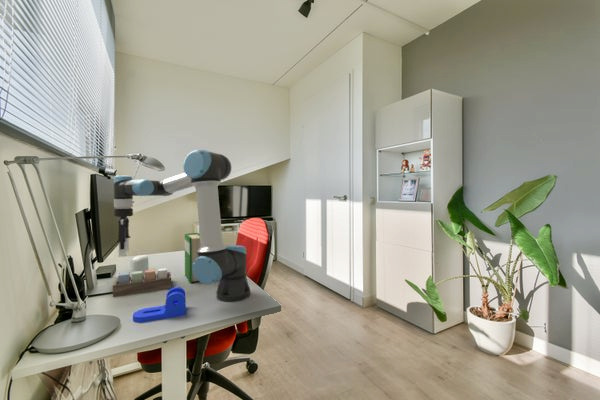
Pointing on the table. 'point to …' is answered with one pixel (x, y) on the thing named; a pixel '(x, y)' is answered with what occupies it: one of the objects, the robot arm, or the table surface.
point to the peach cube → (149, 275)
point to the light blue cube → (123, 278)
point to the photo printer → (139, 264)
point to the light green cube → (137, 276)
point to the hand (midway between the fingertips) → (124, 253)
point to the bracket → (164, 307)
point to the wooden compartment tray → (141, 285)
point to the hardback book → (191, 254)
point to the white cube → (162, 273)
